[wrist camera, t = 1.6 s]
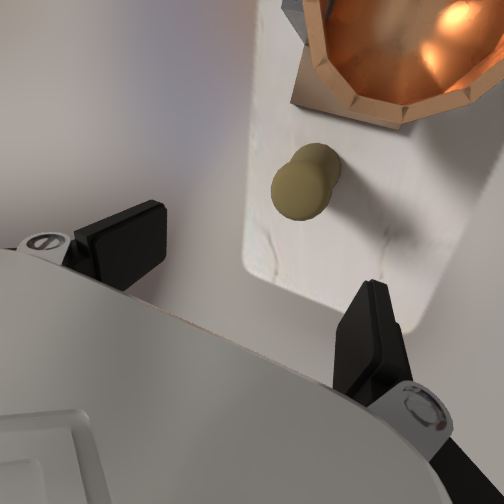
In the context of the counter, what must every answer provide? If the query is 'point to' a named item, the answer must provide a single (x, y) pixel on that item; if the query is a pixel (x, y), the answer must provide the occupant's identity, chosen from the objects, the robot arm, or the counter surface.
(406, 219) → the counter surface
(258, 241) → the counter surface
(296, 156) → the cork
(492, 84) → the cup bracket
